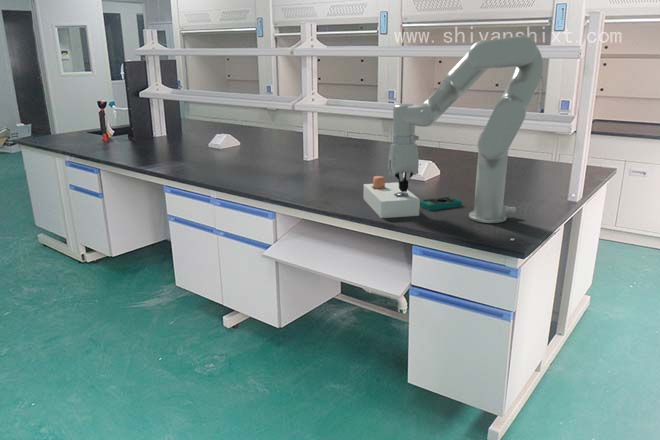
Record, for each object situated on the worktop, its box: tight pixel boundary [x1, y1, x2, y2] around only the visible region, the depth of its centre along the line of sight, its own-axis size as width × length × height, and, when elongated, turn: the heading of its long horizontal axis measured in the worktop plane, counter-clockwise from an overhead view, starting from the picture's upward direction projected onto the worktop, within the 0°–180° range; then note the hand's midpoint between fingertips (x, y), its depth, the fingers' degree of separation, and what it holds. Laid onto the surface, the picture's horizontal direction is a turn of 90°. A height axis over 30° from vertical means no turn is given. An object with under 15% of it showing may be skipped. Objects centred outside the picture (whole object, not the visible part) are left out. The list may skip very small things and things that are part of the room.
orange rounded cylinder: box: [372, 175, 386, 189], centre depth 202 cm, size 4×4×6 cm
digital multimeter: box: [420, 196, 463, 212], centre depth 198 cm, size 7×15×3 cm, turn 113°
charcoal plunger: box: [396, 192, 408, 197], centre depth 191 cm, size 4×4×6 cm
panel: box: [363, 181, 421, 219], centre depth 197 cm, size 14×26×6 cm, turn 10°
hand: (403, 190), depth 190 cm, fingers closed
